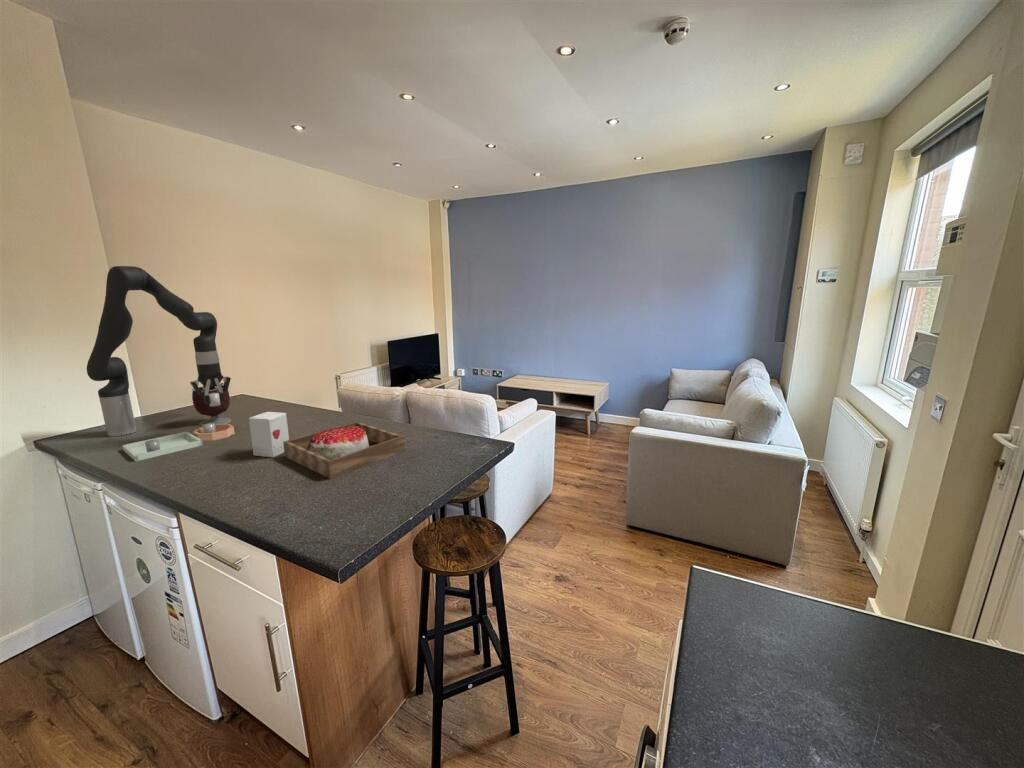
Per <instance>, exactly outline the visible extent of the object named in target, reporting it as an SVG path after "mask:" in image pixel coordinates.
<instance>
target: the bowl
mask: <svg viewBox="0 0 1024 768" xmlns="http://www.w3.org/2000/svg"><path fill="white" fill-rule="evenodd" d="M214 426H215V432H213V433H204V429H203V426H202V427H201V426H200V427H199V428H197V429H194V430H193V431H192V435H194V436H196V437H197V438H199V439H201V440H202V442H210V441H217V440H221V439H226V438H229V437H230V436H231V435H235V428H234V425H232V424H230V423H227V424H215V425H214Z"/></svg>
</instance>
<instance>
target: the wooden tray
mask: <svg viewBox="0 0 1024 768" xmlns="http://www.w3.org/2000/svg"><path fill="white" fill-rule="evenodd" d="M348 426H356V427H360V428H361V429H363V430H364V431H365V433H366V435H367V438H368V442H372V443H376V444H373V445H369V447H367V448H364V449H361V450H358V451H355V452H352V453H350V454H347V455H344V456H341V457H338V458H335V459H332V460H329V459H327V458H325V457H322V456H320V455H318V454H316V453H313V452H311V451H309V450H307V447H308V444H309V442H310V441H311V439H312V438H313V437H314V435H315V434H317V433H318V432H321V431H317V432H313V433H310V434H306V435H303V436H300V437H299V436H298V437H295V438H291V439H289V440H287V441H284V442H283V445H284V452H283V453H284V457H285V458H286V459H289V460H290V461H293V462H295V463H297V464H299V465H301V466H303V467H305V468H307V469H309V470H311V471H313V472H315V473H318V474H319V475H322V476H323V477H325V478H328V479H329V480H332V479H335V478H337V477H339V476H342V475H345V474H349V473H350V472H353V471H355V470H359V469H361V468H363V467H366V466H369V465H372V464H375V463H377V462H381V461H382V460H385V459H388V458H391V457H393V456H395V455H398V454H401V453H403V452H406V444H405V436H404V435H401V434H398V433H394V432H392V431H388V430H384V429H381V428H379V427H375V426H372V425H368V424H366V423H362V422H360V421H359V422H358V421H354V422H351V423H347V424H343V425H340V426H339V425H338V426H335V427H334V428H343V427H348Z"/></svg>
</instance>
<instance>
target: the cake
mask: <svg viewBox="0 0 1024 768" xmlns="http://www.w3.org/2000/svg"><path fill="white" fill-rule="evenodd" d="M317 432H318V433H317ZM317 432H316V433H317V434H315V435H314V437H313V438H312V439H311V441H310V442H309V444H308V447H307V450H309V451H311V452H313V453H316V454H318V455H320V456H322V457H325V458H327V459H329V460H332V459H335V458H338V457H341V456H344V455H347V454H350V453H352V452H355V451H358V450H361V449H364V448H367V447H370V444H369V443H370V442H369V440H368V438H367V435H366V433H365V431H364V430H363V429H361V428H360V427H356V426H348V427H343V428H335V427H333V428H328V429H325V430H322V431H321V432H320V431H317Z"/></svg>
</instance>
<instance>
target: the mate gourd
mask: <svg viewBox="0 0 1024 768" xmlns="http://www.w3.org/2000/svg"><path fill="white" fill-rule="evenodd" d="M220 385H221V388H223V385H224V382H220ZM198 387H199V389H200V390H201V392H203V385H202V386H198ZM216 392H217V393H218V391H217V389H216V388H215V386H212V387H209V392H208V394H209V393H216ZM191 395H192V396H191V398H192V404H193V406H194V409H195V411H196V412H197V413H199V415H201V416H202V415H203V416H208V417H210V419H207V420H206V419H205V420H202V421H201V422H199V423H198V425H199V427H200V428H201V427H203V424H206V423H214V425H215V424H230V423H231V422H232V419H231V418H229V417H219V415H221V414H223V413H225V412H226V411H227V410H228V409H229V407H230V402H231V397H230V392H229V390H228V391H225V392H223V396H224V400H223V402H220V403H221V405H219V406H209V405H208V404H207V403H205V402H204V396H203V395H199V394H197V393H196V391H195V390H194V388H193V389H192V393H191Z"/></svg>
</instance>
